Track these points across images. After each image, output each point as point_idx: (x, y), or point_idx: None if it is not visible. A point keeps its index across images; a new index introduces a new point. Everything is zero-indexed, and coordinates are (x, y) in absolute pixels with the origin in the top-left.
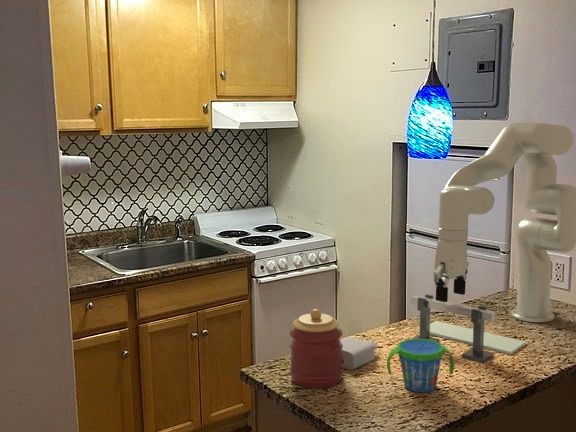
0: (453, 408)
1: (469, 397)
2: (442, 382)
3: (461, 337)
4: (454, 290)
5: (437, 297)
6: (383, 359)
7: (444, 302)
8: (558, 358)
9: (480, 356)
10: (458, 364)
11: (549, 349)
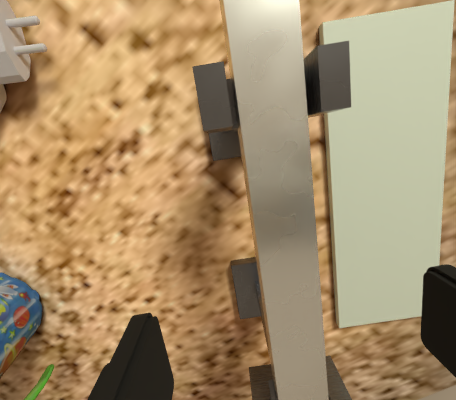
0: (3, 396)
1: (66, 388)
2: (71, 318)
3: (350, 182)
4: (442, 287)
5: (108, 363)
6: (36, 126)
7: (288, 245)
8: (387, 390)
9: (251, 304)
10: (185, 281)
11: (431, 355)
